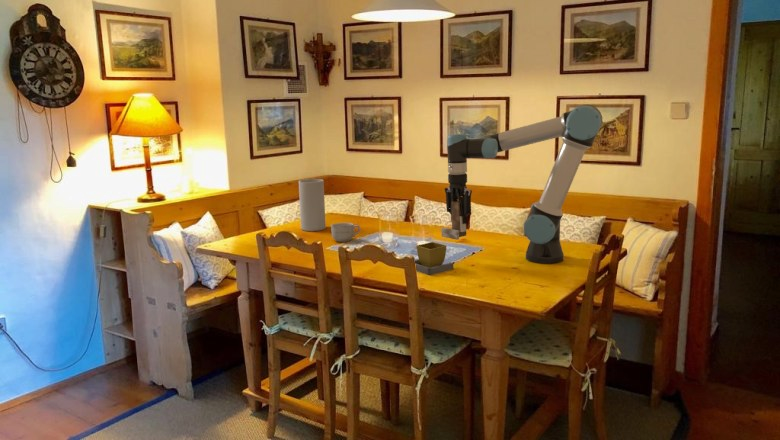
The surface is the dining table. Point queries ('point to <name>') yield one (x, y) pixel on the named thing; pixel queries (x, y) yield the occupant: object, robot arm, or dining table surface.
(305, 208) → the cylinder vase
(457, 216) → the upright post on base
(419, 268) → the tray
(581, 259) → the dining table surface
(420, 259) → the flower pot
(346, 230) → the teacup
